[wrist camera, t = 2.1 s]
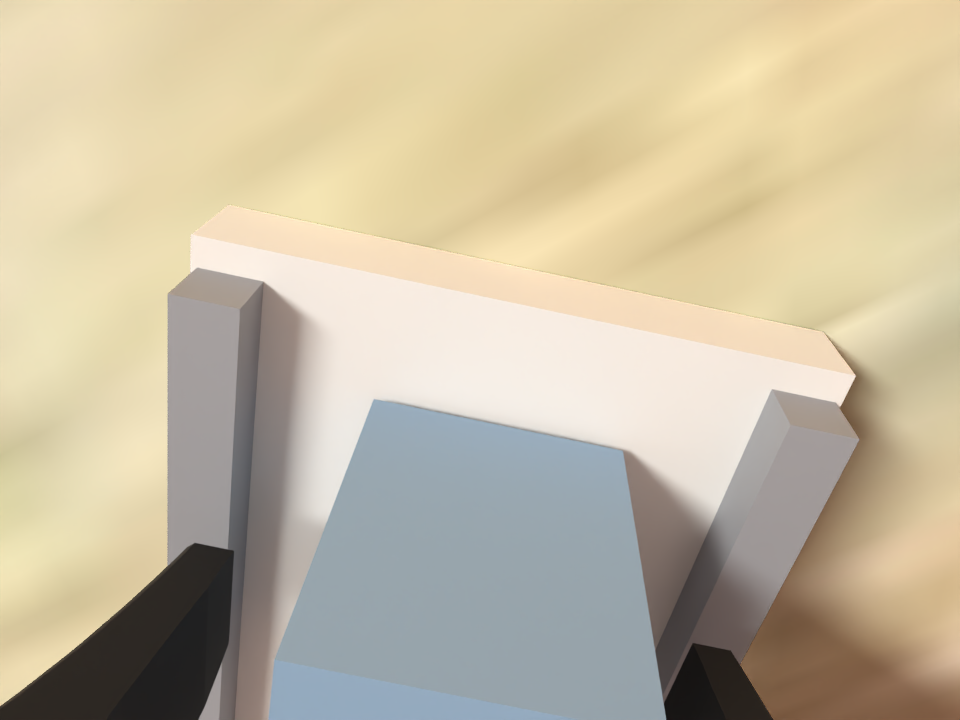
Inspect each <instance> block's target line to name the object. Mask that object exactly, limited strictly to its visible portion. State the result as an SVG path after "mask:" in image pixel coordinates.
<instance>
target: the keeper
mask: <svg viewBox="0 0 960 720" xmlns="http://www.w3.org/2000/svg"><path fill="white" fill-rule="evenodd" d="M268 720H666V715H665V709H664V703H663V696H662V690H661V684H660V678H659V672H658V665H657V659H656V653H655V647H654V641H653V634H652V628H651V622H650V616H649V610H648V603H647V597H646V591H645V585H644V579H643V572H642V566H641V560H640V554H639V548H638V541H637V535H636V529H635V523H634V517H633V510H632V504H631V498H630V492H629V486H628V479H627V473H626V467H625V461H624V455H623V451H622V450H617V449H612V448H607V447H602V446H598V445H593V444H588V443H583V442H578V441H574V440H569V439H564V438H559V437H554V436H550V435H545V434H540V433H535V432H530V431H525V430H521V429H516V428H511V427H506V426H501V425H497V424H492V423H487V422H482V421H477V420H473V419H468V418H463V417H458V416H453V415H449V414H444V413H439V412H434V411H429V410H424V409H420V408H415V407H410V406H405V405H400V404H396V403H391V402H386V401H381V400H376V399H374V400H373V402H372V405H371V407H370V410H369V413H368V415H367V418H366V421H365V423H364V426H363V428H362V431H361V434H360V436H359V439H358V442H357V444H356V447H355V449H354V452H353V455H352V457H351V460H350V463H349V465H348V468H347V470H346V473H345V476H344V478H343V481H342V483H341V486H340V489H339V491H338V494H337V497H336V499H335V502H334V504H333V507H332V510H331V512H330V515H329V518H328V520H327V523H326V525H325V528H324V531H323V533H322V536H321V539H320V541H319V544H318V546H317V549H316V552H315V554H314V557H313V560H312V562H311V565H310V567H309V570H308V573H307V575H306V578H305V581H304V583H303V586H302V588H301V591H300V594H299V596H298V599H297V601H296V604H295V607H294V609H293V612H292V615H291V617H290V620H289V622H288V625H287V628H286V630H285V633H284V636H283V638H282V641H281V643H280V646H279V649H278V651H277V654H276V657H275V659H274V668H273V678H272V688H271V698H270V708H269V718H268Z"/></svg>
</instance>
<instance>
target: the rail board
mask: <svg viewBox="0 0 960 720" xmlns="http://www.w3.org/2000/svg"><path fill="white" fill-rule="evenodd" d="M855 377H856V375H855V374H854V373H853V371H852V370H851V368H850V367H849V366H848V364H847V363H846V362H845V360H844V359H843V358H842V356H841V355H840V354H839V352H838V351H837V350H836V348H835V347H834V346H833V344H832V343H831V342H830V340H829V339H828V338H827V336H826V335H825V334H824V332H821V331H817V330H812V329H807V328H803V327H798V326H793V325H789V324H784V323H779V322H775V321H770V320H765V319H761V318H756V317H751V316H747V315H742V314H737V313H733V312H728V311H723V310H719V309H714V308H709V307H705V306H700V305H695V304H691V303H686V302H681V301H677V300H672V299H667V298H663V297H658V296H653V295H649V294H644V293H639V292H635V291H630V290H625V289H621V288H616V287H611V286H607V285H602V284H597V283H593V282H588V281H583V280H579V279H574V278H569V277H565V276H560V275H555V274H551V273H546V272H541V271H537V270H532V269H527V268H523V267H518V266H513V265H508V264H504V263H499V262H494V261H490V260H485V259H480V258H476V257H471V256H466V255H462V254H457V253H452V252H448V251H443V250H438V249H434V248H429V247H424V246H420V245H415V244H410V243H406V242H401V241H396V240H392V239H387V238H382V237H378V236H373V235H368V234H364V233H359V232H354V231H350V230H345V229H340V228H336V227H331V226H326V225H322V224H317V223H312V222H308V221H303V220H298V219H294V218H289V217H284V216H280V215H275V214H270V213H266V212H261V211H256V210H252V209H247V208H242V207H238V206H233V205H227V206H226V207H225V208H224V209H222V210H221V211H220V212H219V213H217V214H216V215H215V216H213V217H212V218H211V219H210V220H208V221H207V222H206V223H205V224H203V225H202V226H201V227H200V228H198V229H197V230H196V231H195V232H193V233H192V234H191V261H190V274H189V275H188V276H187V277H186V278H185V279H184V280H183V281H182V282H180V283H179V284H178V285H177V286H176V287H175V288H174V289H173V290H172V291H170V292H169V293H168V565H169V564H170V563H171V562H172V561H173V560H175V559H176V558H177V557H178V556H179V555H180V554H181V553H182V552H183V551H184V550H185V549H186V548H187V547H188V546H190V545H192V544H194V543H199V544H204V545H209V546H214V547H219V548H224V549H228V550H233V551H234V563H233V581H232V598H231V616H230V634H229V644H228V647H227V650H226V652H225V655H224V658H223V660H222V663H221V666H220V668H219V671H218V674H217V676H216V679H215V682H214V684H213V687H212V689H211V692H210V694H209V697H208V700H207V702H206V705H205V707H204V709H203V711H202V713H201V715H200V718H199V720H268V718H269V708H270V698H271V688H272V678H273V668H274V659H275V657H276V654H277V651H278V649H279V646H280V643H281V641H282V638H283V636H284V633H285V630H286V628H287V625H288V622H289V620H290V617H291V615H292V612H293V609H294V607H295V604H296V601H297V599H298V596H299V594H300V591H301V588H302V586H303V583H304V581H305V578H306V575H307V573H308V570H309V567H310V565H311V562H312V560H313V557H314V554H315V552H316V549H317V546H318V544H319V541H320V539H321V536H322V533H323V531H324V528H325V525H326V523H327V520H328V518H329V515H330V512H331V510H332V507H333V504H334V502H335V499H336V497H337V494H338V491H339V489H340V486H341V483H342V481H343V478H344V476H345V473H346V470H347V468H348V465H349V463H350V460H351V457H352V455H353V452H354V449H355V447H356V444H357V442H358V439H359V436H360V434H361V431H362V428H363V426H364V423H365V421H366V418H367V415H368V413H369V410H370V407H371V405H372V402H373V400H374V399H376V400H381V401H386V402H391V403H396V404H400V405H405V406H410V407H415V408H420V409H424V410H429V411H434V412H439V413H444V414H449V415H453V416H458V417H463V418H468V419H473V420H477V421H482V422H487V423H492V424H497V425H501V426H506V427H511V428H516V429H521V430H525V431H530V432H535V433H540V434H545V435H550V436H554V437H559V438H564V439H569V440H574V441H578V442H583V443H588V444H593V445H598V446H602V447H607V448H612V449H617V450H622V451H623V455H624V461H625V467H626V473H627V479H628V486H629V492H630V498H631V504H632V510H633V517H634V523H635V529H636V535H637V541H638V548H639V554H640V560H641V566H642V572H643V579H644V585H645V591H646V597H647V603H648V610H649V616H650V622H651V628H652V634H653V641H654V647H655V653H656V659H657V665H658V672H659V678H660V684H661V690H662V696H663V703H664V702H665V700H666V698H667V696H668V693H669V691H670V689H671V687H672V685H673V683H674V681H675V679H676V677H677V675H678V673H679V670H680V668H681V666H682V664H683V662H684V660H685V658H686V656H687V654H688V652H689V649H690V647H691V645H692V643H696V644H701V645H706V646H711V647H716V648H721V649H726V650H731V652H732V653H733V655H734V656H735V658H736V660H737V661H738V663H739V665H740V664H741V662H742V660H743V658H744V656H745V654H746V653H747V651H748V649H749V647H750V645H751V643H752V641H753V639H754V637H755V636H756V634H757V632H758V630H759V628H760V626H761V624H762V622H763V620H764V619H765V617H766V615H767V613H768V611H769V609H770V607H771V605H772V604H773V602H774V600H775V598H776V596H777V594H778V592H779V590H780V588H781V587H782V585H783V583H784V581H785V579H786V577H787V575H788V573H789V572H790V570H791V568H792V566H793V564H794V562H795V560H796V558H797V556H798V555H799V553H800V551H801V549H802V547H803V545H804V543H805V541H806V540H807V538H808V536H809V534H810V532H811V530H812V528H813V526H814V524H815V523H816V521H817V519H818V517H819V515H820V513H821V511H822V509H823V507H824V506H825V504H826V502H827V500H828V498H829V496H830V494H831V492H832V491H833V489H834V487H835V485H836V483H837V481H838V479H839V477H840V475H841V474H842V472H843V470H844V468H845V466H846V464H847V462H848V460H849V459H850V457H851V455H852V453H853V451H854V449H855V447H856V445H857V443H858V442H859V440H860V439H859V438H858V436H857V435H856V433H855V431H854V430H853V428H852V427H851V425H850V424H849V422H848V421H847V419H846V418H845V416H844V415H843V413H842V412H841V410H840V407H841V405H842V403H843V401H844V399H845V397H846V395H847V393H848V391H849V389H850V387H851V385H852V383H853V381H854V379H855Z"/></svg>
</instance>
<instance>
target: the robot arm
mask: <svg viewBox="0 0 960 720" xmlns="http://www.w3.org/2000/svg"><path fill="white" fill-rule="evenodd" d="M233 563H234V551H233V550H228V549H224V548H219V547H214V546H209V545H204V544H199V543H194V544H192V545H190V546H188V547H187V548H186V549H185V550H184V551H183V552H182V553H181V554H180V555H179V556H178V557H177V558H176V559H175V560H173V561H172V562H171V563H170V564H169V565H168V566H167V567H166V568H165V569H164V570H163V571H162V572H161V573H160V574H159V575H158V576H157V577H156V578H155V579H154V580H152V581H151V582H150V583H149V584H148V585H147V586H146V587H145V588H144V589H143V590H142V591H141V592H139V593H138V594H137V595H136V596H135V597H134V598H133V599H132V600H131V601H130V602H128V603H127V604H126V605H125V606H124V607H123V608H122V609H121V610H119V611H118V612H117V613H116V614H115V615H114V616H112V617H111V618H110V619H109V620H108V621H107V622H105V623H104V624H103V625H102V626H101V627H100V628H98V629H97V630H96V631H95V632H94V633H93V634H91V635H90V636H89V637H88V638H87V639H86V640H84V641H83V642H82V643H81V644H80V645H79V646H77V647H76V648H75V649H74V650H72V651H71V652H70V653H69V654H68V655H66V656H65V657H64V658H62V659H61V660H60V661H59V662H57V663H56V664H55V665H53V666H52V667H51V668H50V669H48V670H47V671H46V672H45V673H43V674H42V675H41V676H39V677H38V678H37V679H36V680H34V681H33V682H32V683H30V684H29V685H28V686H27V687H25V688H24V689H23V690H22V691H20V692H19V693H18V694H16V695H15V696H14V697H12V698H11V699H9V700H8V701H7V702H5V703H4V704H3V705H1V706H0V720H199V718H200V715H201V713H202V711H203V709H204V707H205V705H206V702H207V700H208V697H209V694H210V692H211V689H212V687H213V684H214V682H215V679H216V676H217V674H218V671H219V668H220V666H221V663H222V660H223V658H224V655H225V652H226V650H227V647H228V644H229V634H230V616H231V598H232V581H233ZM664 709H665V715H666V720H773V719H772V717H771V715H770V714H769V712H768V710H767V709H766V707H765V705H764V704H763V702H762V701H761V699H760V697H759V696H758V694H757V692H756V691H755V689H754V687H753V686H752V684H751V682H750V681H749V679H748V678H747V676H746V674H745V673H744V671H743V669H742V668H741V666H740V665H739V663H738V661H737V660H736V658H735V656H734V655H733V653H732V652H731V650H726V649H721V648H716V647H711V646H706V645H701V644H696V643H692V645H691V647H690V649H689V652H688V654H687V656H686V658H685V660H684V662H683V664H682V666H681V668H680V670H679V673H678V675H677V677H676V679H675V681H674V683H673V685H672V687H671V689H670V691H669V693H668V696H667V698H666V700H665V702H664Z"/></svg>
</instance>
